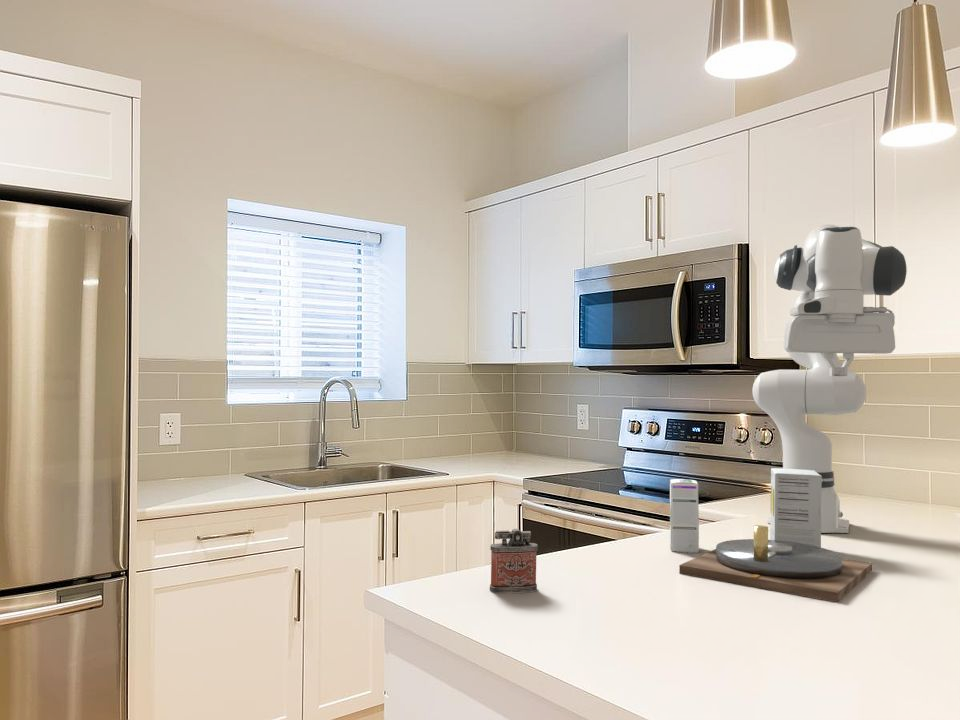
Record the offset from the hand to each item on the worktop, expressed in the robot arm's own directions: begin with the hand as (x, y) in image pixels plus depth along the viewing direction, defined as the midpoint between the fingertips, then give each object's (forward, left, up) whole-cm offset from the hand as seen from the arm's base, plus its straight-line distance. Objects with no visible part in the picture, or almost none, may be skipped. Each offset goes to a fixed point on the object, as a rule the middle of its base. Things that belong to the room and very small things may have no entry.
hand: (838, 376), depth 149 cm
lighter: (+58, -37, -37) cm, 78 cm away
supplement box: (-7, -10, -37) cm, 39 cm away
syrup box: (+9, -28, -37) cm, 47 cm away
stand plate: (+15, -7, -37) cm, 41 cm away
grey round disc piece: (+15, -7, -35) cm, 39 cm away
